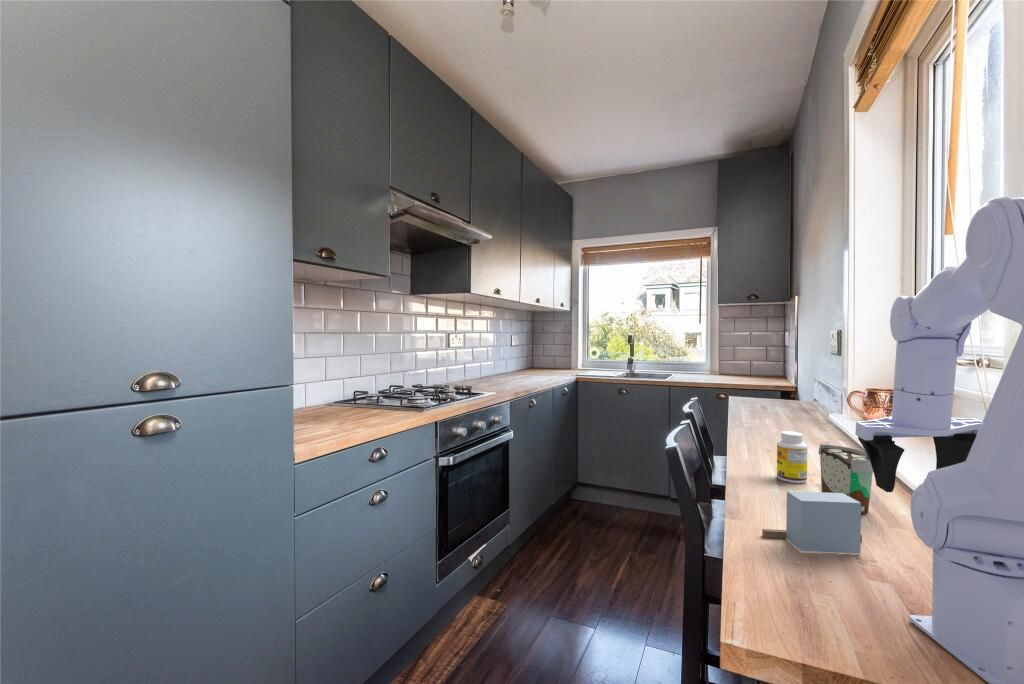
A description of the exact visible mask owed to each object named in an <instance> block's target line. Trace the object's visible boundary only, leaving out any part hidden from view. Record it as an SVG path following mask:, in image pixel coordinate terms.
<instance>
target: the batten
mask: <svg viewBox="0 0 1024 684" xmlns="http://www.w3.org/2000/svg"><path fill="white" fill-rule="evenodd" d="M761 531H762V537H763V538H764V539H782V540H783V539H784V540H786V529H770V528H768V529H767V528H763V529H762V530H761ZM862 542H863V535H862V534H861V543H862Z"/></svg>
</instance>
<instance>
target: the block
mask: <svg viewBox="0 0 1024 684" xmlns="http://www.w3.org/2000/svg"><path fill="white" fill-rule="evenodd" d="M861 524H862V516H861V503H860V502H858V501H856V500H855V499H853V498H851V497H849V496H847V495H845V494H843V493H825V492H822V491H820V492H818V491H791V490H790V491H789V490H787V491H786V525H785V528H786V529H785V530H786V539H785V540H786V541H787V543H789V544H790V545H792V546H793V547H794V548H795V549H796V550H797V551H799V553H801V554H803V553H804V554H805V553H806V554H822V553H840V554H839V555H844V554H851V555H850V556H861V546H862V545H861V543H862V542H861V535H862V534H861V532H862V529H861V528H862V527H861V526H862V525H861ZM842 553H843V554H842Z"/></svg>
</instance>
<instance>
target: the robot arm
mask: <svg viewBox="0 0 1024 684" xmlns="http://www.w3.org/2000/svg"><path fill="white" fill-rule="evenodd" d="M966 231H967V232H966V236H965V256H966V257H965V258H964V259H963V261H962V262H961V264H959V266H958V265H955V266H946V267H944V268H943V269H942V270H941V271H940V272H938V273H937V274H936V275H934V276H933V277H932V278H931V279H930V280H929V281H928V283H926V284H925V285H924V286H923V287H922V288H921V290H919V291H918V293H917V294H916V295H914V296H907V295H898V296H897V297H896V299H895V300H894V302H893V303H892V307H891V310H890V318H889V324H890V333H891V336H892V338H893V340H894V341H896V346H895V347H896V348H895V349H896V350H895V360H894V361H895V363H894V377H893V392H892V394H893V395H892V408H891V413H890V416H886V417H881V418H876V419H870V420H863V421H862V420H861V421H856V422H855V434H854V435H855V436H857V440H858V441H859V442H860V444H861V445H862V447H863V450H864V452H866V453H867V455H868V458H869V460H870V463H871V465H872V469H873V476H874V480H875V485H876V487H879V488H880V489H881V490H882V491H884V492H886V493H893V492H894V489H895V487H896V478H897V477H896V476H897V469H898V465H899V462H900V460H901V458H902V455H903V454H904V452H905V448H903V447H902V446H899V445H897V444H896V442H895V440H893V438H895V439H896V438H929V437H931V438H932V439H933V443H934V449H935V457H936V463H935V464H936V465H935V466H936V467H935V469H934V470H931V471H929V472H928V473H927V475H926V478H924V480H923V482H922V483H921V484H919V485H918V486H917V487H916V488H915V489H914V490H913V491H912V494H911V498H910V518H911V523H912V526H913V530H914V532H915V534H916V536H917V537H918V538H919V540H920V541H921V542H923V544H924V545H925V546H926V547H928V548H929V549H932V581H931V582H932V583H931V584H932V586H931V588H932V592H931V593H932V594H931V595H932V596H931V615H920V614H910V615H908V620H909V621H910V622H911V623H913V624H914V625H915V626H916V627H918V628H919V629H920V630H921V631H922V632H924V633H925V634H926V635H927V636H929V637H930V638H931V639H932V640H934V641H935V642H936V643H937V644H939V645H940V646H941V647H942V648H944V649H945V650H946V651H948V653H949V654H951V655H952V656H954V657H955V658H956V659H957V660H959V661H961V662H962V664H964V665H965V666H966V667H968V668H969V670H972V672H974V673H975V674H977V675H978V676H979V677H980V678H981V679H983V680H984V681H985V682H987V683H988V684H1024V197H1023V196H1022V197H1012V198H1011V197H1007V196H1002V197H1001V196H1000V197H994V198H991V199H989V200H987V201H986V202H985V203H984V204H983V205H982V206H981V207H980V208H979V209H978V210H977V211H976V212H975V213H974V214H973V216H972V218H971V220H970V222H969V225H968V227H967V230H966ZM987 311H989V312H990V313H993V314H995V315H997V316H1000V317H1003V318H1005V319H1007V320H1010V321H1013V322H1015V323H1017V324H1019V325H1021V330H1020V333H1019V335H1018V338H1017V339H1016V342H1015V345H1014V347H1013V349H1012V351H1011V354H1010V357H1009V359H1008V361H1007V363H1006V365H1005V368H1004V370H1003V373H1002V375H1001V377H1000V380H999V382H998V384H997V386H996V388H995V389H996V390H995V391H994V394H993V396H992V399H991V401H990V403H989V405H988V407H987V410H986V412H985V415H984V417H983V420H980V419H977V418H974V417H971V418H970V417H968V418H967V417H966V418H965V417H963V418H962V417H953V409H954V407H953V406H954V397H955V396H954V393H955V384H956V372H957V361H958V358H959V357H962V356H963V353H964V351H965V350H964V349H965V343H966V340H967V339H968V336H969V335H970V332H971V329H972V325H973V321H974V320H975V319H977V318H978V317H980V316H981V315H983V314H984V313H986V312H987Z"/></svg>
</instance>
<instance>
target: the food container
mask: <svg viewBox="0 0 1024 684" xmlns="http://www.w3.org/2000/svg"><path fill="white" fill-rule="evenodd" d="M818 455H819V458H820V459H819V460H820V461H819V462H820V487H821V488H820V489H821V491H820V492H825V493H843V494H845V495H847V496H849V497H851V498H853V499H855V500H856V501H858V502H860V503H861V517H863V516H866V515H868V513H869V509H870V501H871V500H870V499H871V491H872V483H873V476H874V472H873V469H872V465H871V463H870V460H869V458H868V455H867V453H866V451H865V450H860V449H856V448H853V447H849V446H848V447H847V446H841V445H833V444H823V443H822V444H821V443H820V444H819V448H818Z"/></svg>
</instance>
